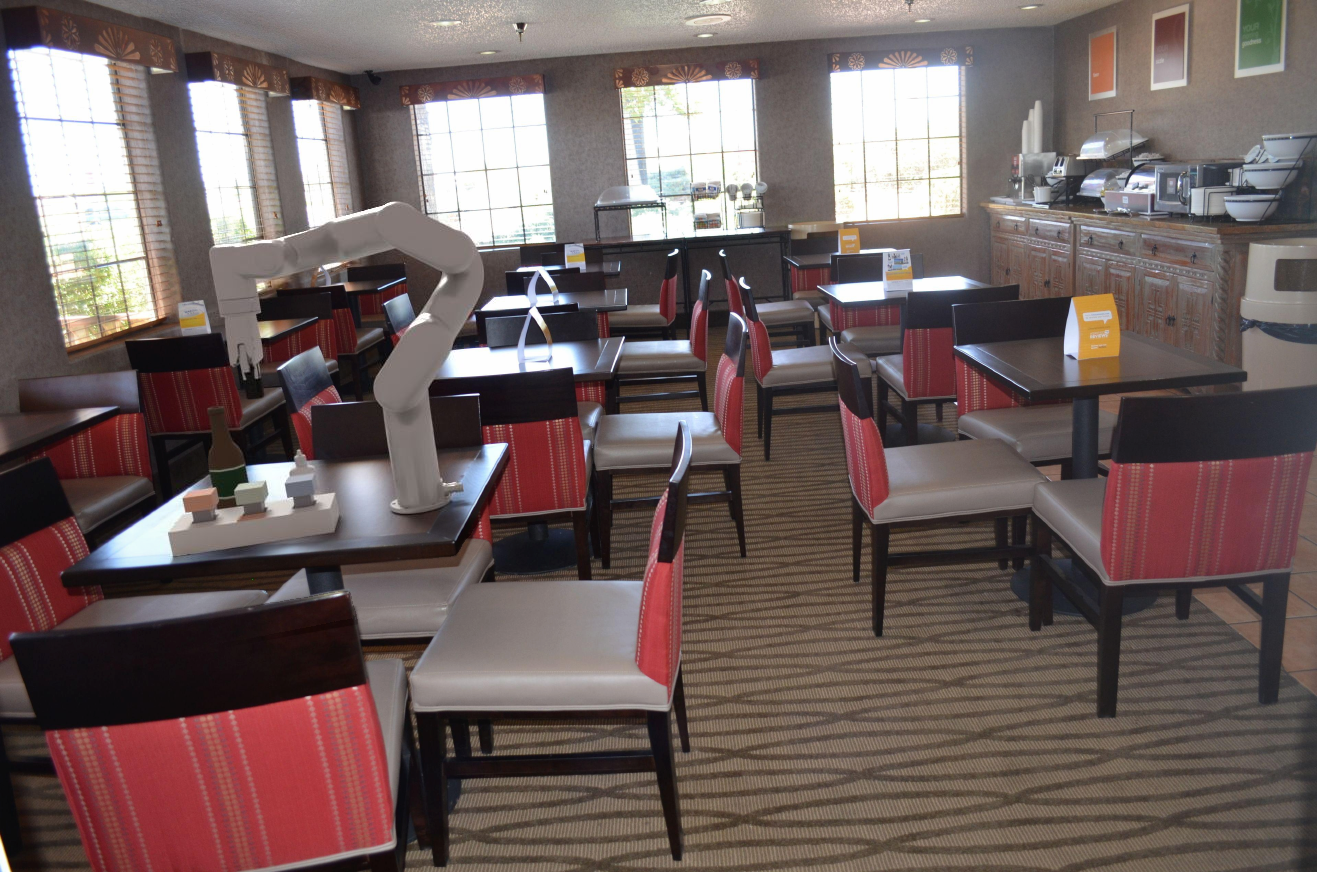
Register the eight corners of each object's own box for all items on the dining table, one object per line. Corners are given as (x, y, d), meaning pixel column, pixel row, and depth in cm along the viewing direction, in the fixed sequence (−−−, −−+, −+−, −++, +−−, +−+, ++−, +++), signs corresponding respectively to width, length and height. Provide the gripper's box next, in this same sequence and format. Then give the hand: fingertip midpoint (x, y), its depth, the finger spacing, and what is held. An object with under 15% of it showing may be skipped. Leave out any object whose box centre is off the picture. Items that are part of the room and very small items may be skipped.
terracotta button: (224, 524, 194) (216, 487, 192) (218, 532, 189) (210, 494, 187) (196, 529, 193) (188, 491, 191) (190, 536, 188) (182, 498, 186)
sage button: (273, 517, 196) (265, 480, 194) (269, 525, 191) (261, 486, 189) (246, 521, 195) (238, 484, 193) (241, 529, 190) (233, 490, 188)
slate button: (321, 510, 198) (314, 473, 196) (318, 517, 193) (311, 479, 191) (295, 514, 197) (288, 477, 195) (291, 521, 192) (284, 483, 190)
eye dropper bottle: (312, 504, 212) (302, 452, 209) (291, 504, 214) (281, 452, 211) (324, 498, 216) (315, 447, 213) (304, 498, 218) (294, 447, 215)
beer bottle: (260, 506, 214) (240, 402, 209) (247, 517, 207) (225, 409, 201) (226, 509, 214) (204, 405, 209) (211, 520, 207) (189, 412, 201)
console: (339, 514, 202) (335, 491, 201) (334, 532, 191) (329, 506, 189) (187, 537, 196) (182, 513, 195) (173, 556, 184) (167, 531, 183)
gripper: (227, 306, 195) (243, 394, 199) (211, 312, 181) (228, 407, 185) (265, 302, 197) (281, 390, 201) (252, 308, 183) (269, 402, 187)
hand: (255, 398), depth 193 cm, fingers closed
